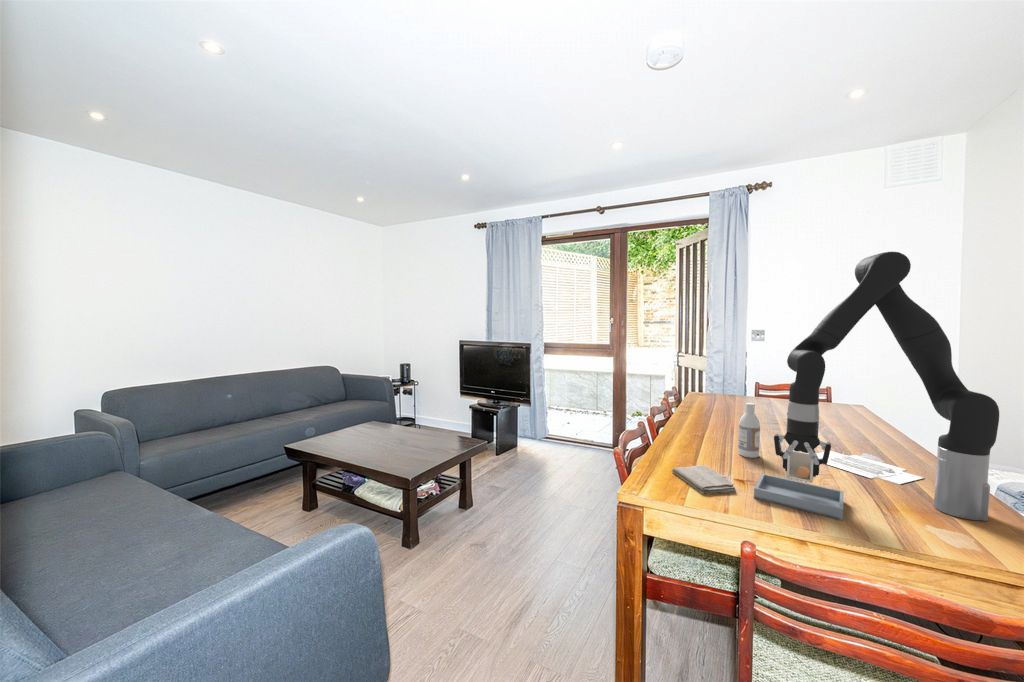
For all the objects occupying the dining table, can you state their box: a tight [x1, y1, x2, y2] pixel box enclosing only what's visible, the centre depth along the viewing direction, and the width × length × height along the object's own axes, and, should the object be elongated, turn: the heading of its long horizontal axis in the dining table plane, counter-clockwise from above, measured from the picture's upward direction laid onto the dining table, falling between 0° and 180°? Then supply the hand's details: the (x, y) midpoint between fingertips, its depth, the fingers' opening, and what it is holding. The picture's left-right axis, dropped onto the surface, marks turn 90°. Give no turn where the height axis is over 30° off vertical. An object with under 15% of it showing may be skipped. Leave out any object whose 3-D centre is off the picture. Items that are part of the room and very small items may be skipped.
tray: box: [753, 473, 845, 522], centre depth 115 cm, size 20×14×3 cm
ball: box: [797, 467, 810, 478], centre depth 115 cm, size 3×3×3 cm
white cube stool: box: [786, 450, 814, 484], centre depth 117 cm, size 6×6×6 cm
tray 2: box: [816, 450, 925, 486], centre depth 140 cm, size 20×28×4 cm
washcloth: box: [671, 464, 737, 495], centre depth 127 cm, size 12×18×3 cm, turn 9°
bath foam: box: [737, 402, 761, 459], centre depth 151 cm, size 7×7×20 cm
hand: (800, 473), depth 117 cm, fingers closed on white cube stool, 6 cm apart
